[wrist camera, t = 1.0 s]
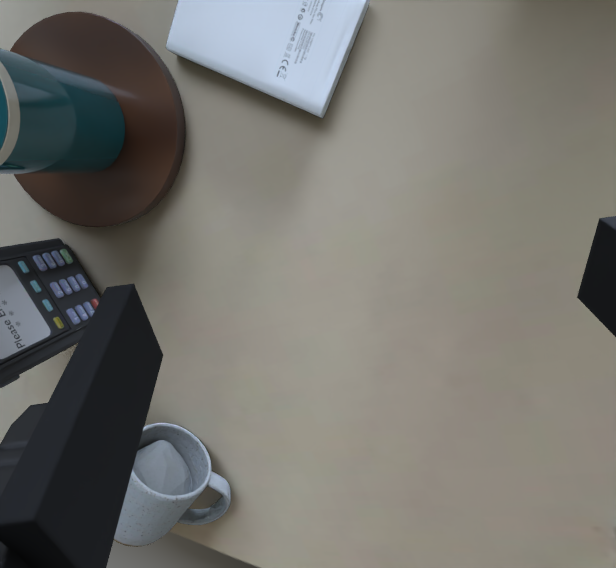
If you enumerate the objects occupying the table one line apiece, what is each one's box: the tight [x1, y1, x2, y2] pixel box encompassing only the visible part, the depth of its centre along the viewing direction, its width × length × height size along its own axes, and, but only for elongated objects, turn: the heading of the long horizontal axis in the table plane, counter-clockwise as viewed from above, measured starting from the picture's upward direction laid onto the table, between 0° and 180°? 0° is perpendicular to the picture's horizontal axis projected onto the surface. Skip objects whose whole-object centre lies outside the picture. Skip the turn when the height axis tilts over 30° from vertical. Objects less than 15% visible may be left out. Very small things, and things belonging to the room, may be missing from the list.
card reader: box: [0, 239, 101, 388], centre depth 33 cm, size 9×4×15 cm, turn 29°
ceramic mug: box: [114, 423, 231, 547], centre depth 40 cm, size 11×8×8 cm
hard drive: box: [166, 0, 370, 118], centre depth 32 cm, size 2×8×12 cm
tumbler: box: [0, 48, 125, 174], centre depth 30 cm, size 8×8×11 cm
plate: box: [10, 12, 185, 227], centre depth 36 cm, size 16×16×1 cm
